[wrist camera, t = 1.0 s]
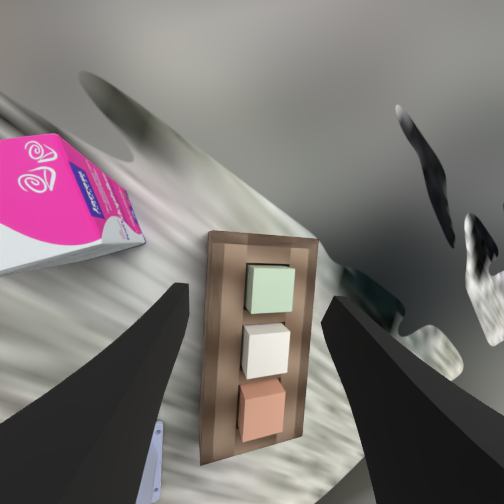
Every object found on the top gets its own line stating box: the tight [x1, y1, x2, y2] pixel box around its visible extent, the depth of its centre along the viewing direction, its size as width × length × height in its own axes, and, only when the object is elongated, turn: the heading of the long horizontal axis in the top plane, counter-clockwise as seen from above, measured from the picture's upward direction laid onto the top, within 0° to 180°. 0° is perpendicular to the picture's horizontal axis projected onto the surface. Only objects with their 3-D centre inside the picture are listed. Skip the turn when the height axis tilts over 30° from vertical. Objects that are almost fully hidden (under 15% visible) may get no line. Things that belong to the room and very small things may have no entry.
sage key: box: [244, 263, 295, 314], centre depth 21 cm, size 4×4×4 cm
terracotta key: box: [236, 378, 286, 442], centre depth 21 cm, size 4×4×4 cm
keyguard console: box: [199, 230, 319, 466], centre depth 23 cm, size 24×12×4 cm, turn 176°
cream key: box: [240, 322, 290, 379], centre depth 21 cm, size 4×4×4 cm
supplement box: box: [0, 134, 146, 276], centre depth 14 cm, size 6×6×12 cm
